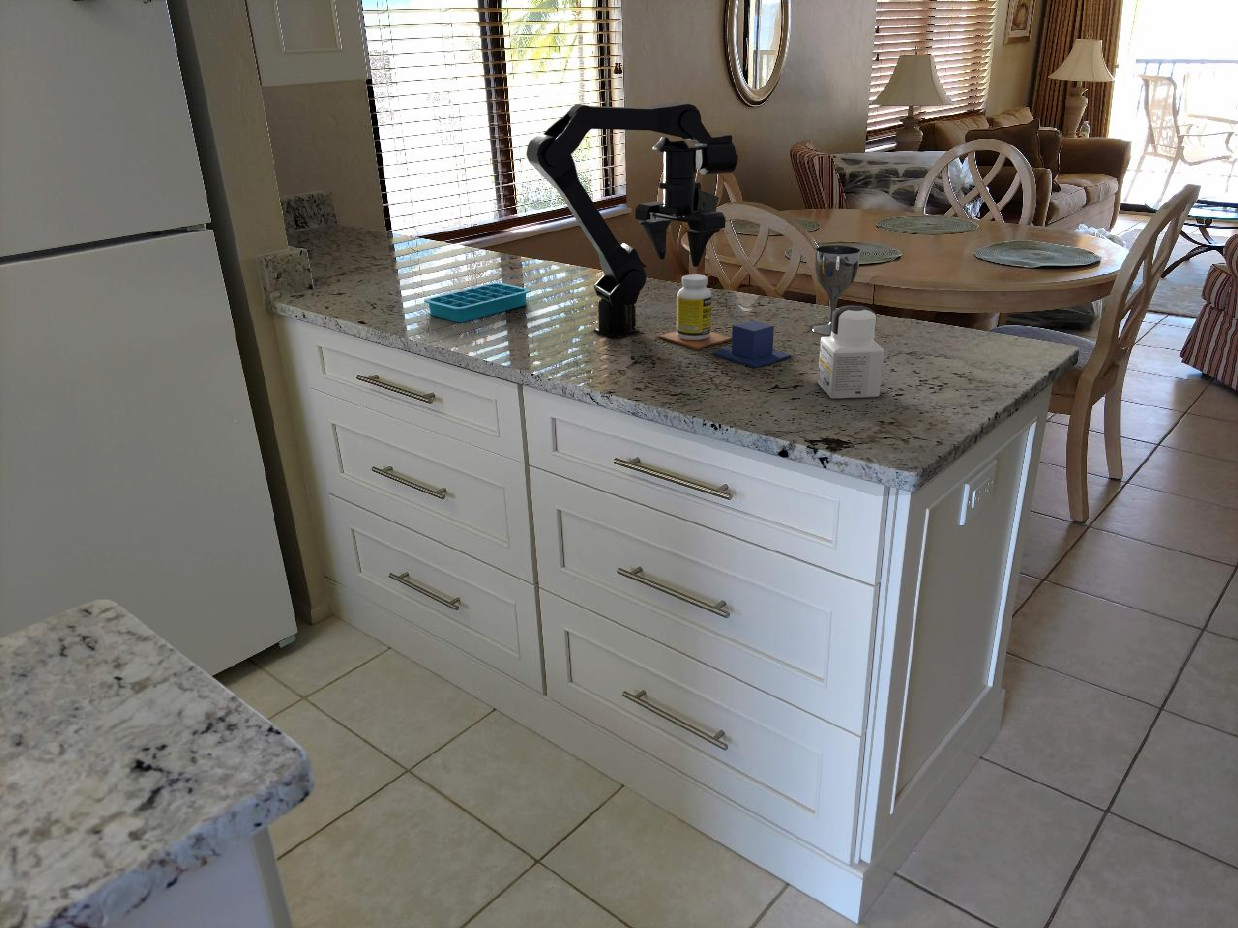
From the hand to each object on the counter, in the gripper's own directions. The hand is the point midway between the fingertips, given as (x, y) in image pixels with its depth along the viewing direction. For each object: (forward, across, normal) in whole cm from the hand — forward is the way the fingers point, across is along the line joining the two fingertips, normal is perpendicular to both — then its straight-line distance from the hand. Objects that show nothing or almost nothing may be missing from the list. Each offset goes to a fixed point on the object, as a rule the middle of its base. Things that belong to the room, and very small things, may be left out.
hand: (678, 262), depth 180 cm
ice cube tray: (+12, +36, +22) cm, 44 cm away
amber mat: (+12, -9, +4) cm, 16 cm away
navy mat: (+12, -23, +4) cm, 26 cm away
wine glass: (+12, -22, -19) cm, 32 cm away
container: (+12, -45, +6) cm, 47 cm away
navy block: (+12, -23, +4) cm, 26 cm away
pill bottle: (+12, -9, +4) cm, 15 cm away
